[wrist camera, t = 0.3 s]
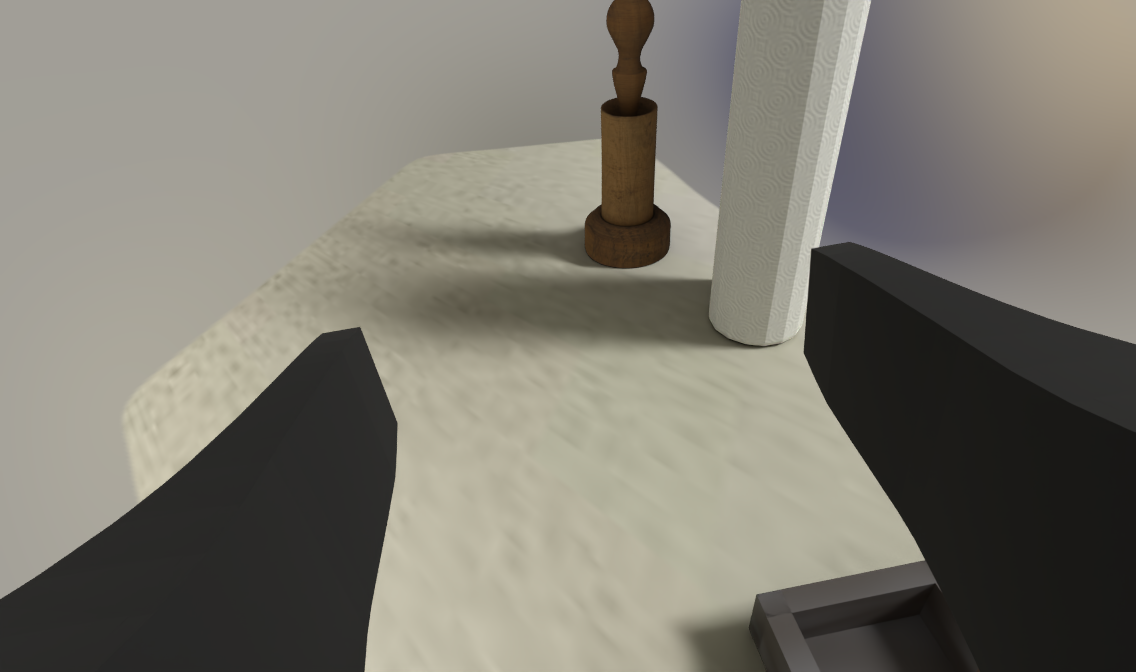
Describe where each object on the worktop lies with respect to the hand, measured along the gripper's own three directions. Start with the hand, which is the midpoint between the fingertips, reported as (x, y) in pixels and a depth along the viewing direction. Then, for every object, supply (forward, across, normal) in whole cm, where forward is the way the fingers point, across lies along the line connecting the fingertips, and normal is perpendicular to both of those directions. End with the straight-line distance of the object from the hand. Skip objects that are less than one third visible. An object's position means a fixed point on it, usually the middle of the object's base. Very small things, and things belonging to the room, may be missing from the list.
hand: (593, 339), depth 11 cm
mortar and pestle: (+38, -5, +19) cm, 43 cm away
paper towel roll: (+28, -12, +20) cm, 36 cm away
